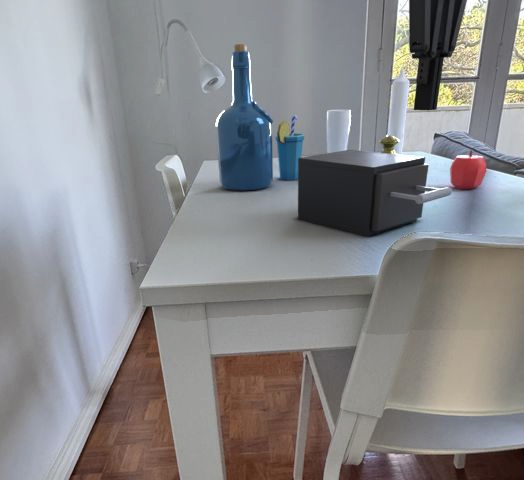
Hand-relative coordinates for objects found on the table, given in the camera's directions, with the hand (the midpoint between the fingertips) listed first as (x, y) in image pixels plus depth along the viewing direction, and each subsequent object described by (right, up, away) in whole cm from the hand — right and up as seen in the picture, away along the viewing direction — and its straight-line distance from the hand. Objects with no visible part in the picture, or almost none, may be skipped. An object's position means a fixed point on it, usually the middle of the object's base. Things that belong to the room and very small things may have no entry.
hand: (425, 109), depth 70 cm
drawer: (-4, -13, +13) cm, 19 cm away
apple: (+23, +2, +39) cm, 45 cm away
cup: (-17, +10, +57) cm, 60 cm away
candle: (+14, +18, +69) cm, 72 cm away
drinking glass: (-2, +19, +71) cm, 74 cm away
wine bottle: (-28, +5, +48) cm, 56 cm away
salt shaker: (+8, +9, +53) cm, 54 cm away
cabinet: (-7, -12, +17) cm, 22 cm away
